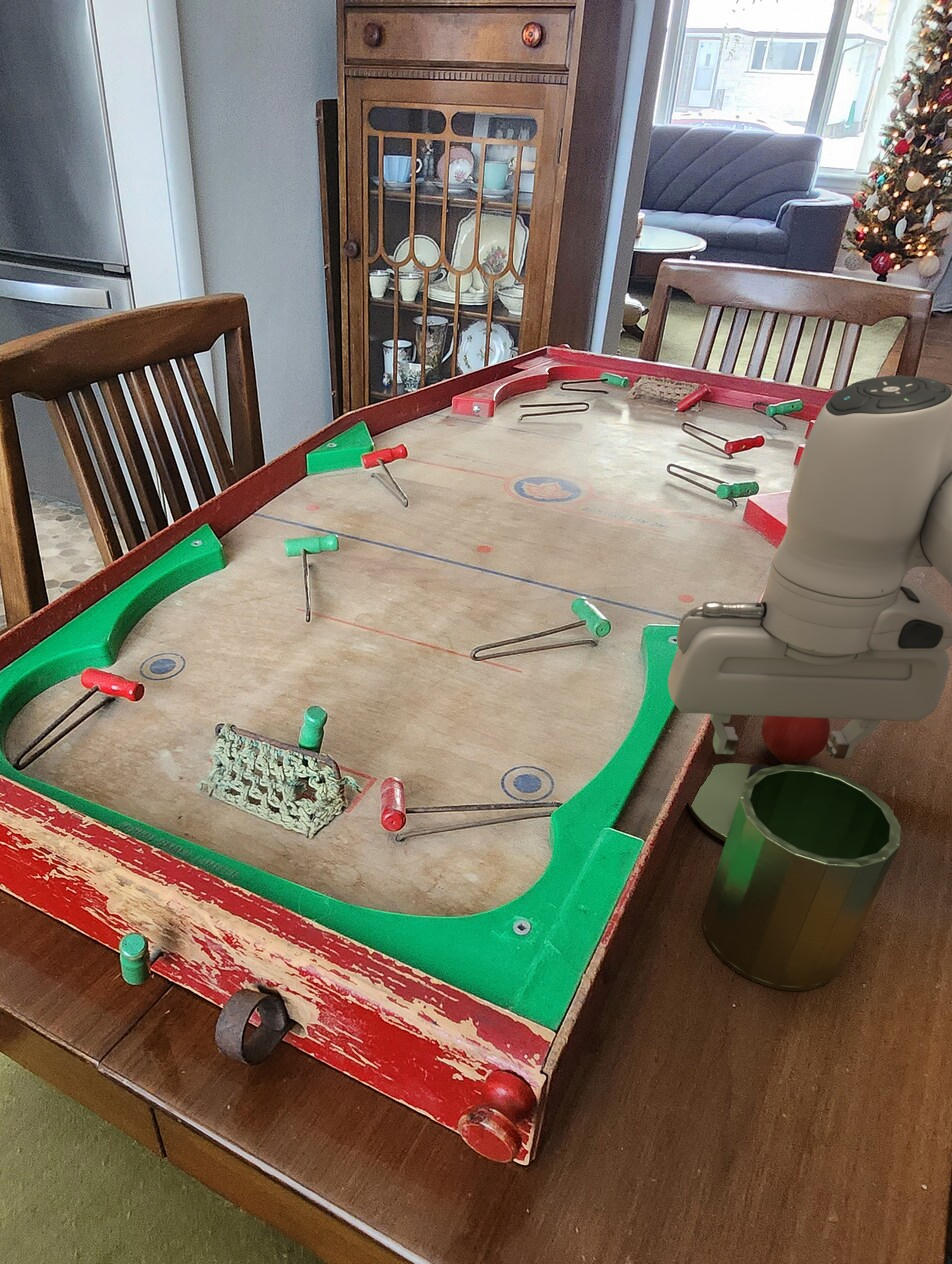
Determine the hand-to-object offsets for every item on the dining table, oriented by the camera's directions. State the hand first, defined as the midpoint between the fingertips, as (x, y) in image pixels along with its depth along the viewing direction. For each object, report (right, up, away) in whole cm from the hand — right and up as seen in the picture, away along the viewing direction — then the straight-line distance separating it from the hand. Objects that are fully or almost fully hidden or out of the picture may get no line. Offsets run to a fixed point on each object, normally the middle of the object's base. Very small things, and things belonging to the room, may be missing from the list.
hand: (780, 752), depth 76 cm
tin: (-4, -14, -7) cm, 16 cm away
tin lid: (-1, -5, +4) cm, 6 cm away
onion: (+5, -1, +11) cm, 12 cm away
